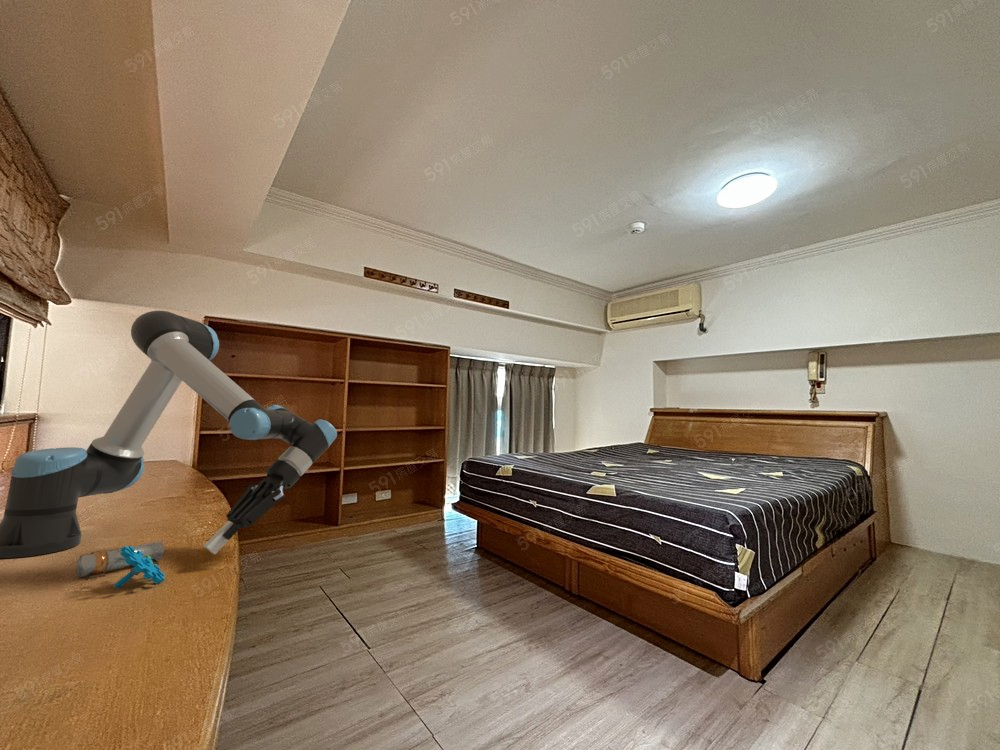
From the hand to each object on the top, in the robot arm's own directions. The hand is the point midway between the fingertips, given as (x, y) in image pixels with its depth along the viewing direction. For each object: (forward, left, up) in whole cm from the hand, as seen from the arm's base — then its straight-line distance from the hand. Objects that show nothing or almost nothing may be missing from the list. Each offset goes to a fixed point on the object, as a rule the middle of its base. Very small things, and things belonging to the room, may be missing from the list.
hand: (209, 550), depth 89 cm
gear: (-1, -11, -4) cm, 12 cm away
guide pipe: (-13, -10, -4) cm, 17 cm away
